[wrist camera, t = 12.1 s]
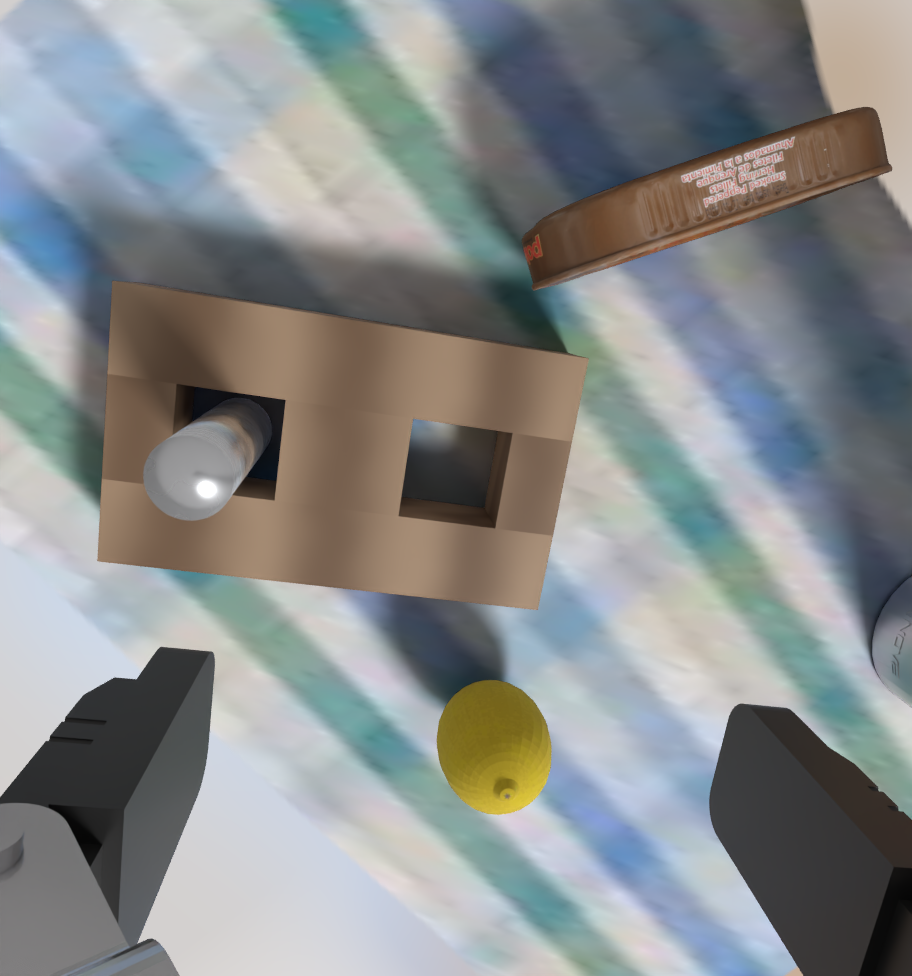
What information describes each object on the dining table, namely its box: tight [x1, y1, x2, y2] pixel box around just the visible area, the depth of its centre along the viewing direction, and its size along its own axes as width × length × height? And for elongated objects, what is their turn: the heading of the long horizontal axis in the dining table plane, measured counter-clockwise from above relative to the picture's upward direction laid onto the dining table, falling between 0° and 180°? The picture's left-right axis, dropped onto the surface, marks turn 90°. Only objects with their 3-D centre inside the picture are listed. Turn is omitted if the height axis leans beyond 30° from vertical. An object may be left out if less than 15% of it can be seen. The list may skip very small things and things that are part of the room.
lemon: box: [437, 680, 551, 815], centre depth 36 cm, size 6×6×8 cm
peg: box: [143, 398, 272, 521], centre depth 30 cm, size 3×3×10 cm
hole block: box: [97, 281, 589, 610], centre depth 34 cm, size 20×12×4 cm, turn 81°
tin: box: [522, 107, 892, 290], centre depth 30 cm, size 15×3×8 cm, turn 107°
